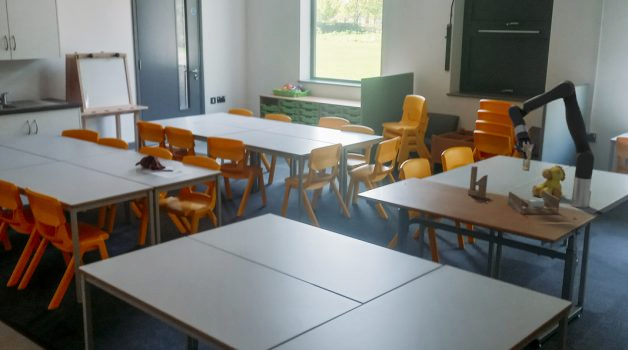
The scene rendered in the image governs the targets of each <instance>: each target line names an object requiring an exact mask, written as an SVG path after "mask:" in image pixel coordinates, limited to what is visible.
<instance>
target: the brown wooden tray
mask: <svg viewBox="0 0 628 350" xmlns="http://www.w3.org/2000/svg"><path fill="white" fill-rule="evenodd" d="M507 197H508V198H507V200H508V201H507V205H508V206H509V208H512V209H513V210H515V211H516V212H517V213H518V214H535V215H536V214H539V215H540V214H545V215H546V214H549V215H551V214H552V215H554V214H559V211H560V202H561V201H560V200H561V199H558V198H556V197H554V196H553V195H551V194H549V193H547V192H544V194H543V198H542V200H543V201H545V202H544V208H528V201H526V200H524V198H522V197H520V196H519V195H518V194H516V193H514V192H513V191H509V190H508V196H507Z"/></svg>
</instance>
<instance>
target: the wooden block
mask: <svg viewBox="0 0 628 350" xmlns="http://www.w3.org/2000/svg"><path fill="white" fill-rule="evenodd" d="M478 169H479V168H478V166H477V165H472V166H471V169H470V179H469V180H470V181H469V188H468V189H467V190H468V191H467V195H469V196H472V197H476V198H479V197H480V199H485V198H487V187H488V174H484V175H483V176H482V177H480V179H478V181H477V176H478ZM477 186H478V188H477Z"/></svg>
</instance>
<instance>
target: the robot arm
mask: <svg viewBox="0 0 628 350" xmlns="http://www.w3.org/2000/svg"><path fill="white" fill-rule="evenodd" d="M560 99H562V101H563V105H564V110H565V113H564V114H565V122H566V126H567V129H568V132H569V134H570V135H569V136H571V139H572V141H573V143H574V146H575V152H576V162H575V170H574V178H573V186H572V187H573V188H572V195H571V202H570V204H571V206H572V207H575V208H581V209H582V208H583V209H584V208H590V204H591V196H592V191H591V185H592V184H591V183H592V177H593V172H594V171H593V170H594V164H595V156H594V153H593V151H592V149H591V145H590V144H589V141H588V134H587V129H586V124H585V121H584V116H583V114H582V111H581V108H580V105H579V102H578V98H577V93H576V86H575V84H574V83H573V82H572V81H571V80H568V79H566V80H563V81H560V82H559V83H558V84H557V85H556V86H554V87H553V88H552V89H550V90H547V91H546V92H544V93H541V94H538V95H536V96H534V97H532V98H530V99H528V100H526V101H524V102H523V103H522V107H520V106H519V105H517V104H511V105H510V106H509V108H508V109H507V113H508V117H509V118H510V120H511V122H512V126H513V130H514V135H515V140H516V142H517V143H515V144H514V145H513V148H514V149H515V150H516V152H518V154H521V155H522V159H523V158H524V159H525V160H526V159H527V155H526V153H525V144H529V145H532V150H531V158H530V161H531V160H532V159H533V154H534V153H535V152H536V148H537V144H536V143H532V140H531V137H530V133H529V129H528V127H527V124H526V121H525V119H524V118H525V117H526V116H528V115H529V114H530V113H531V112H533V111H536V110H538V109H539V108H541V107H543V106H545V105H548V104H549V103H552V102H554V101H558V100H560Z"/></svg>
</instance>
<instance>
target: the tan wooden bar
mask: <svg viewBox="0 0 628 350" xmlns="http://www.w3.org/2000/svg"><path fill="white" fill-rule="evenodd" d="M531 150H532V145H529V144H525V153H526V155H527V159H526V160H525V159H524V158H523V157H522V159H523V161H522V171H524V172H529V171H530V168H531V160H530V158H531Z"/></svg>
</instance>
